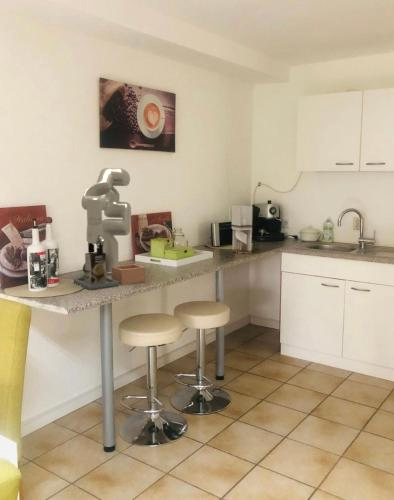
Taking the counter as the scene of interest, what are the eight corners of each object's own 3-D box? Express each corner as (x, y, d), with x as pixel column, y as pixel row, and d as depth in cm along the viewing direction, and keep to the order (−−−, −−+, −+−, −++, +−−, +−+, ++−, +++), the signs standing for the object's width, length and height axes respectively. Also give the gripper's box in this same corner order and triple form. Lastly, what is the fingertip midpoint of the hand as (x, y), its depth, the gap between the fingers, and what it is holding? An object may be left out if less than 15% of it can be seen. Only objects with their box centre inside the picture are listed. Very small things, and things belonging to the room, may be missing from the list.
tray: (73, 283, 265) (73, 278, 264) (100, 279, 274) (100, 275, 274) (90, 290, 249) (90, 285, 249) (118, 286, 259) (118, 281, 258)
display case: (231, 252, 375) (232, 205, 369) (242, 251, 380) (243, 205, 374) (239, 254, 365) (240, 206, 359) (251, 253, 370) (252, 206, 364)
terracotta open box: (111, 281, 270) (111, 266, 269) (134, 278, 279) (134, 264, 278) (122, 285, 261) (121, 270, 260) (145, 281, 270) (145, 267, 269)
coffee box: (91, 285, 256) (91, 254, 254) (85, 283, 261) (84, 253, 258) (106, 282, 263) (106, 252, 260) (99, 280, 267) (99, 251, 265)
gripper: (80, 220, 261) (81, 252, 264) (95, 223, 248) (96, 257, 251) (93, 219, 266) (94, 250, 269) (109, 222, 252) (109, 255, 255)
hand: (95, 253), depth 260 cm, fingers open, 9 cm apart
